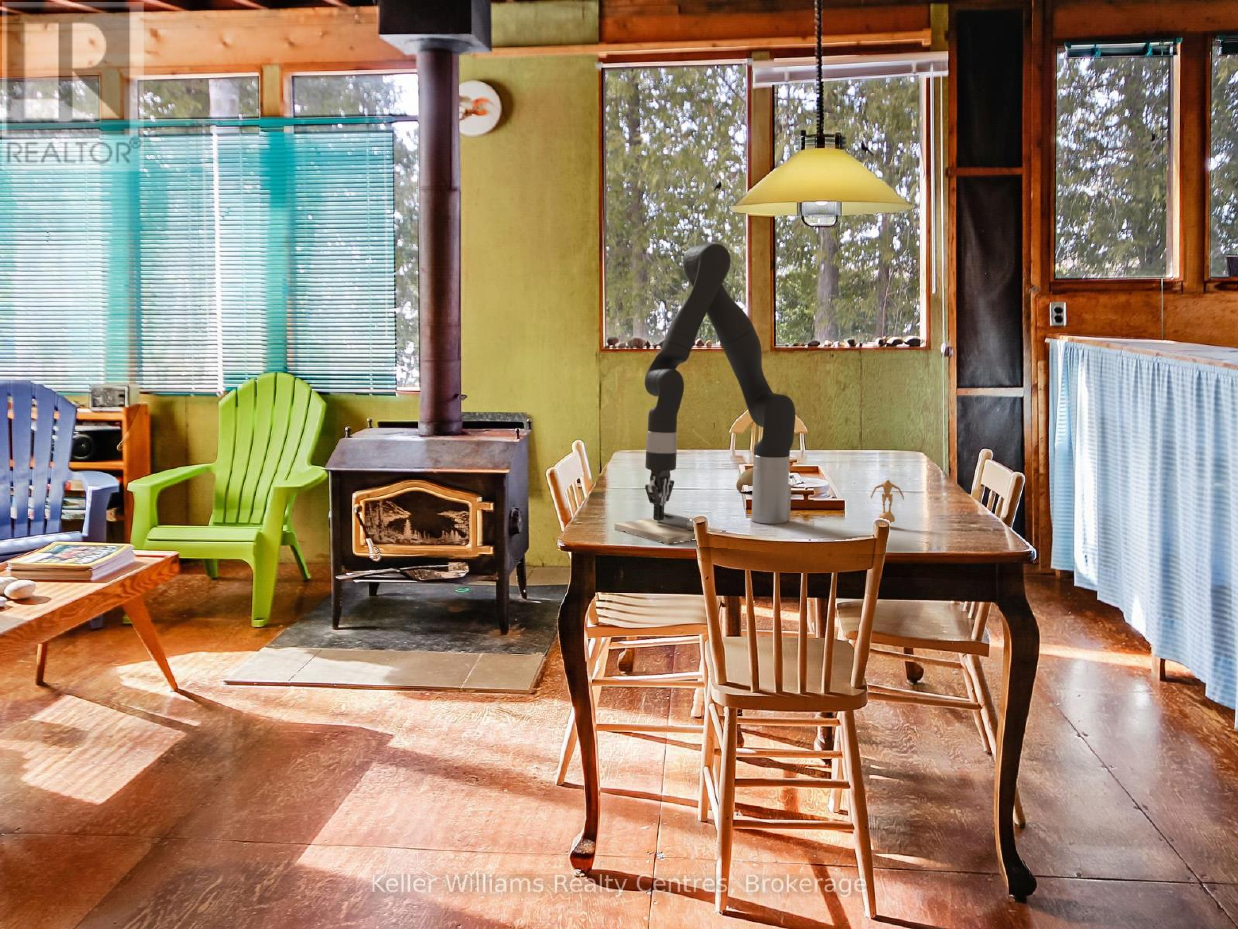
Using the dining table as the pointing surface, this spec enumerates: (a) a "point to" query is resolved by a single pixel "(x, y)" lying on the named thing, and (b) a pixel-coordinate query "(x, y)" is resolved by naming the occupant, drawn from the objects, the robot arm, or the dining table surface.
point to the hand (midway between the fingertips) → (658, 519)
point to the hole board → (659, 530)
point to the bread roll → (745, 479)
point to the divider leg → (678, 521)
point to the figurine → (887, 488)
